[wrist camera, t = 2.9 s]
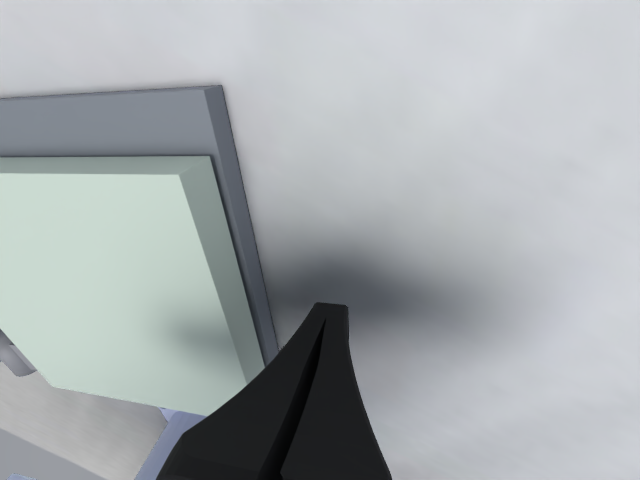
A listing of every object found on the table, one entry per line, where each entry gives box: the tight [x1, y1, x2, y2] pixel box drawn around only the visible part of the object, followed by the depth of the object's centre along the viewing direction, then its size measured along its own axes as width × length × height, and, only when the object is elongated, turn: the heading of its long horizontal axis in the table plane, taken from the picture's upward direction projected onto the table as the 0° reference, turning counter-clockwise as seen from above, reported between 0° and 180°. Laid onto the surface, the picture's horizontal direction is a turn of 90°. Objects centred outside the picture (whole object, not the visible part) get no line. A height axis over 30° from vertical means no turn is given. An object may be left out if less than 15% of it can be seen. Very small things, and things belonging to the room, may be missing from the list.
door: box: [0, 156, 265, 416], centre depth 15 cm, size 14×17×2 cm
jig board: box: [0, 85, 279, 367], centre depth 17 cm, size 18×26×4 cm
